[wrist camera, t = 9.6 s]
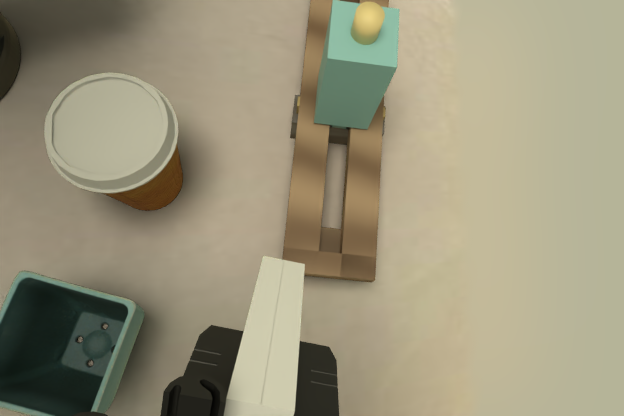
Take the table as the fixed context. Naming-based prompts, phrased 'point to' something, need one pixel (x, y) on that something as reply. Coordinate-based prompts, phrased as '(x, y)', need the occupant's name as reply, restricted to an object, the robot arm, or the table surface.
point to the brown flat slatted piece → (311, 176)
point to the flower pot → (63, 346)
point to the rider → (356, 63)
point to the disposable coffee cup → (116, 140)
